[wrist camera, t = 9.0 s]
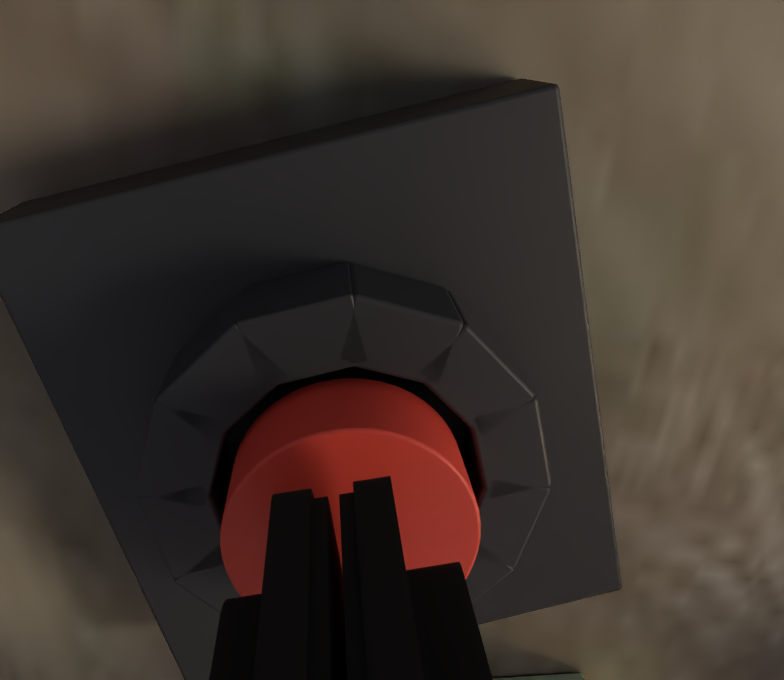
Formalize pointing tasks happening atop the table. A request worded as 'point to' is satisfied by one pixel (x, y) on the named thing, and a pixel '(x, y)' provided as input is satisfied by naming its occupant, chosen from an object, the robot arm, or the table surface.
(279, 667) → the robot arm
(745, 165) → the table surface
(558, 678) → the console
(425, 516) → the button
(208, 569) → the button box
